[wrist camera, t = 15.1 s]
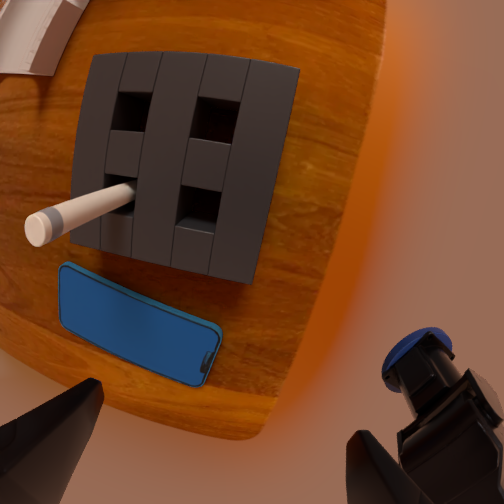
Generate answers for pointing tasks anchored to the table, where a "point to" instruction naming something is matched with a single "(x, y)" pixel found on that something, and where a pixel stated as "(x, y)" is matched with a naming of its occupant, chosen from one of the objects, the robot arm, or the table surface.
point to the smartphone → (136, 326)
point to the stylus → (76, 212)
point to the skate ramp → (36, 34)
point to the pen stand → (182, 156)
